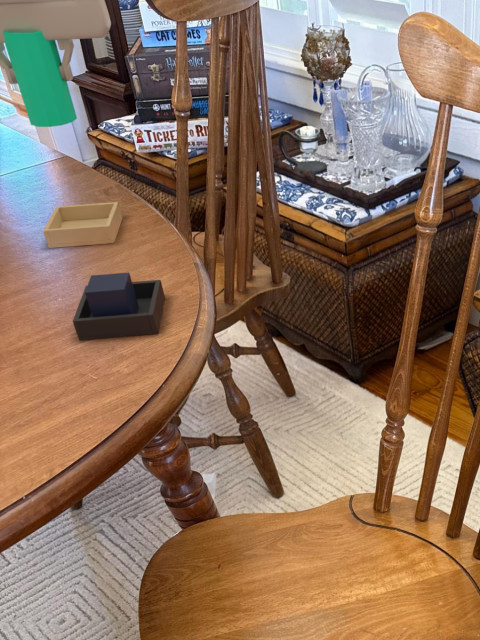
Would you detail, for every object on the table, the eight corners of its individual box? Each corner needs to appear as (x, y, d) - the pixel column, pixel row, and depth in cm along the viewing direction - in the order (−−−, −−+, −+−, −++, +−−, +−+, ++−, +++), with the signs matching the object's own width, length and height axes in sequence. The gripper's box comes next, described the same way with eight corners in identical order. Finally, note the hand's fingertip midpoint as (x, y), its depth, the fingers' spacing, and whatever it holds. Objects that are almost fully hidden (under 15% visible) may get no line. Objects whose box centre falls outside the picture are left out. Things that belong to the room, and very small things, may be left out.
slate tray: (79, 340, 92) (72, 321, 90) (91, 304, 99) (85, 285, 97) (158, 333, 93) (152, 314, 91) (165, 298, 99) (160, 279, 98)
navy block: (96, 327, 93) (84, 292, 90) (102, 309, 96) (91, 275, 93) (134, 324, 94) (124, 289, 90) (138, 306, 97) (129, 272, 94)
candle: (79, 111, 105) (50, 5, 97) (74, 125, 101) (42, 15, 92) (33, 115, 104) (0, 8, 96) (25, 128, 100) (-10, 18, 92)
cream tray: (48, 248, 112) (42, 230, 110) (61, 223, 118) (55, 206, 117) (114, 243, 112) (109, 225, 111) (122, 218, 119) (118, 201, 117)
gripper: (97, -61, 93) (127, 70, 102) (-81, -54, 91) (-33, 79, 101) (88, -54, 88) (121, 83, 98) (-99, -46, 87) (-48, 92, 96)
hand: (41, 81), depth 99 cm, fingers closed on candle, 5 cm apart
